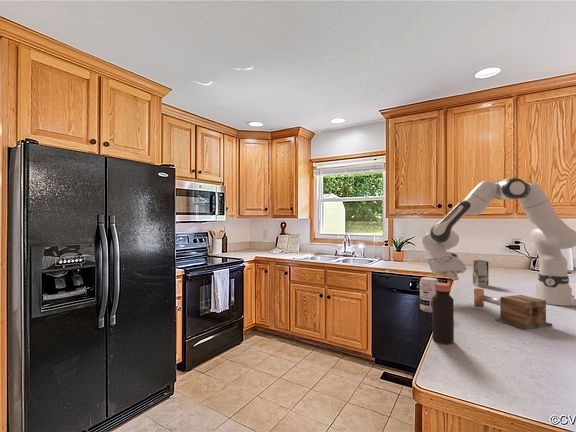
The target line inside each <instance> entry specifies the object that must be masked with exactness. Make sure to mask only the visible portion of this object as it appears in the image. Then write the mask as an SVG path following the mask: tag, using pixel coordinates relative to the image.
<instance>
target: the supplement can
mask: <svg viewBox="0 0 576 432" xmlns="http://www.w3.org/2000/svg"><path fill="white" fill-rule="evenodd" d="M435 283H440V282H439V280H438V278H436V277H430V276H429V277H427V276H425V277H424V276H423V277H420V281H419V308H420V310H421V311H422V312H424V313H425V312H426V313H432V297H433V296H434V295H435V294H436V291H435Z"/></svg>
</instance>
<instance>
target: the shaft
mask: <svg viewBox="0 0 576 432" xmlns="http://www.w3.org/2000/svg"><path fill="white" fill-rule="evenodd" d="M485 302H487V303H490V304H492V305H497V306H500V298H496V297H492V296H488V295H485V290H484V288H483V289H482V288H473V304H474V305H473V306H474V307H476V308H485Z"/></svg>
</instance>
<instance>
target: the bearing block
mask: <svg viewBox="0 0 576 432" xmlns="http://www.w3.org/2000/svg"><path fill="white" fill-rule="evenodd" d="M499 299H500V305H499V306H500V313H499V314H500V317H497V318H494V321H495V322H498V323H501V322H502V323H501V324H505V325H508V326H511V327H514V328H516V329H519V330H522V331H526V330H530V329H531V330H533V329H538V328H545V327H546V328H547V327H551V326H553V323H550V322H548V321H547V304H546V300H541V299H537V298H532V296H527V295H524V294H518V295H506V296H500V298H499Z"/></svg>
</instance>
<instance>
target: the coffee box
mask: <svg viewBox="0 0 576 432" xmlns="http://www.w3.org/2000/svg"><path fill="white" fill-rule="evenodd" d="M472 284H473V285H474V286H476V287H478V288H489V261H487V260H482V259H472Z"/></svg>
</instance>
